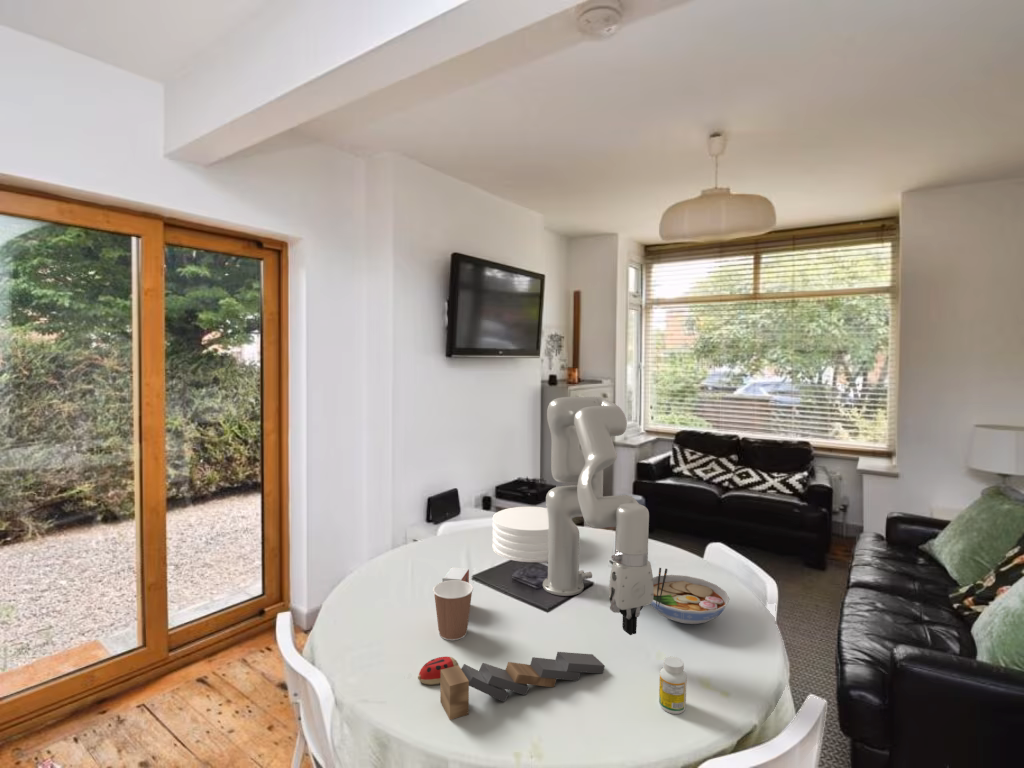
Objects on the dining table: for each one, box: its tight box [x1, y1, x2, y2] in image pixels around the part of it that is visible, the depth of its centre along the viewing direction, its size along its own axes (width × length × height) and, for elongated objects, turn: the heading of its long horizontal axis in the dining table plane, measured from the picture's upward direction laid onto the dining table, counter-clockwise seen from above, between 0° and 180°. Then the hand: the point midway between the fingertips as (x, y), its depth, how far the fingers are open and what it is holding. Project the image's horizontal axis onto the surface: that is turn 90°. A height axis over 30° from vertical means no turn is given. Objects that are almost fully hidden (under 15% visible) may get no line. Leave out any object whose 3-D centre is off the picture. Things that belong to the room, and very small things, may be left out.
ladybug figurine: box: [417, 656, 459, 686], centre depth 123 cm, size 7×10×4 cm
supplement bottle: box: [658, 655, 688, 715], centre depth 113 cm, size 5×5×10 cm
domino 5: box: [555, 651, 606, 674], centre depth 125 cm, size 2×5×10 cm
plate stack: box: [491, 506, 549, 563], centre depth 203 cm, size 28×28×12 cm
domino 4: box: [529, 656, 581, 682], centre depth 122 cm, size 2×5×10 cm
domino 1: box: [460, 663, 509, 703], centre depth 115 cm, size 2×5×10 cm
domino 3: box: [505, 661, 557, 688], centre depth 120 cm, size 2×5×10 cm
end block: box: [439, 664, 470, 721], centre depth 112 cm, size 4×6×7 cm, turn 25°
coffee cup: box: [432, 580, 474, 641], centre depth 141 cm, size 10×10×12 cm
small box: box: [441, 567, 470, 583], centre depth 154 cm, size 8×6×10 cm
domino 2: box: [478, 662, 530, 696], centre depth 117 cm, size 2×5×10 cm
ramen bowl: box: [649, 567, 730, 625], centre depth 151 cm, size 25×23×8 cm
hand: (629, 631), depth 130 cm, fingers closed
